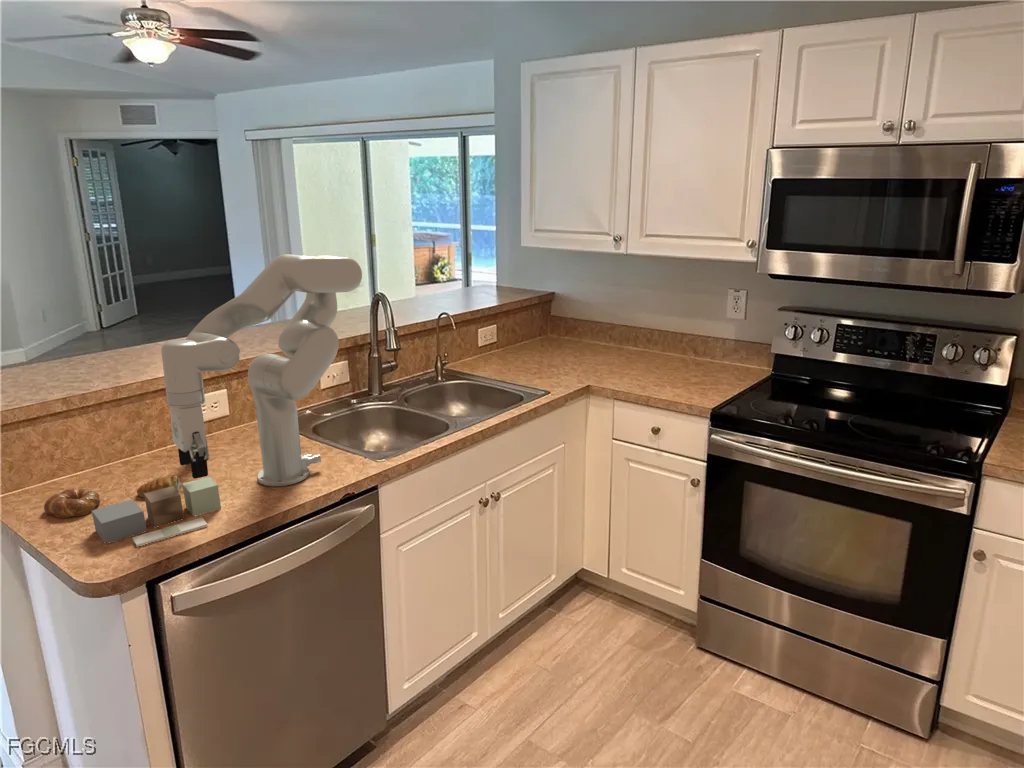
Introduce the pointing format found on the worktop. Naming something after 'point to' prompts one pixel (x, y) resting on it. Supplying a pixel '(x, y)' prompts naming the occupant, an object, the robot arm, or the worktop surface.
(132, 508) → the base block
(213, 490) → the sage block
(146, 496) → the walnut block
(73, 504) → the pretzel
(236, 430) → the worktop surface
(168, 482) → the pastry
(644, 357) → the worktop surface
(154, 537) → the card
